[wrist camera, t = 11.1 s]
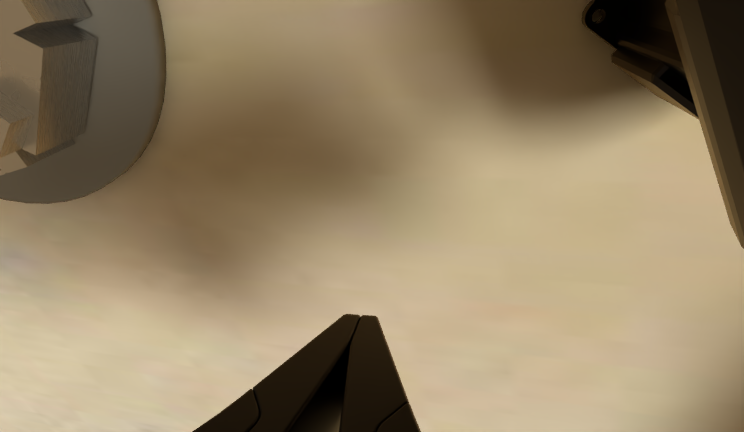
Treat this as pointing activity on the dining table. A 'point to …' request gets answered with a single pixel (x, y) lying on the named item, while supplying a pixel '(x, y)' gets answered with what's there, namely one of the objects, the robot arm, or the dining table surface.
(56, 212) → the dining table surface
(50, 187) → the grey stone circle model
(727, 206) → the robot arm
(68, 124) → the grey stone ring wall
